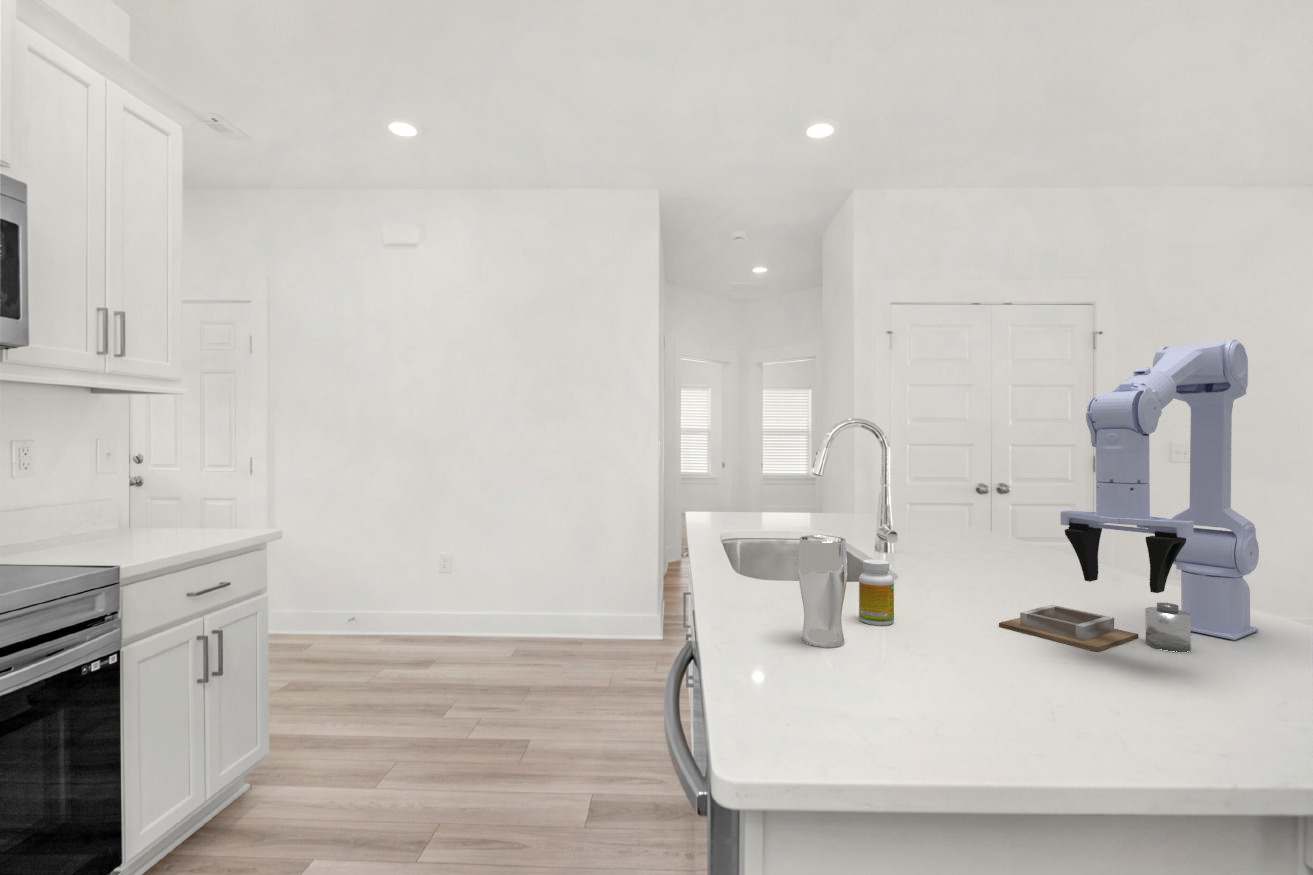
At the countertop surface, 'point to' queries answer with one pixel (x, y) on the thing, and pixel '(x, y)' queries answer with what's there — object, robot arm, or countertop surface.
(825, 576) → the beer glass
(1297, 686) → the countertop surface
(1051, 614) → the carrier board
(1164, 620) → the chrome knobbed weight
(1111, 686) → the countertop surface
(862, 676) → the countertop surface
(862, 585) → the supplement bottle
